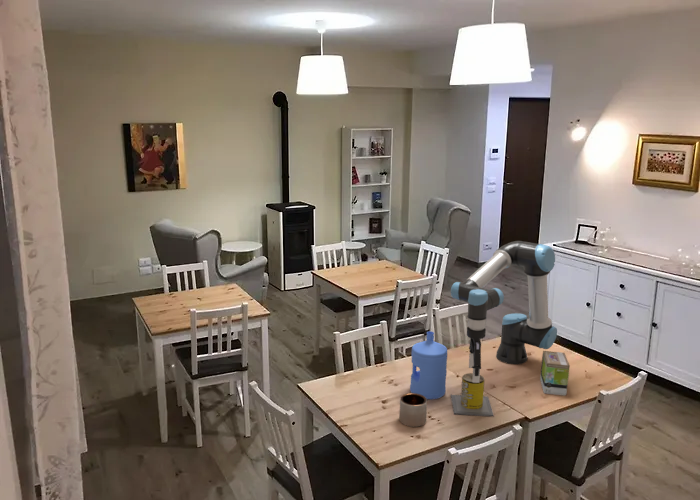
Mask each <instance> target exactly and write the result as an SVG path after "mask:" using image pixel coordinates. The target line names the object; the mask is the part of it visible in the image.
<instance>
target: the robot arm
mask: <svg viewBox="0 0 700 500" xmlns="http://www.w3.org/2000/svg"><path fill="white" fill-rule="evenodd" d="M555 262H556V254H555V251H554V249H553V248H552V247H551V246H550V245H546V244H543V243H535V242H528V241H524V240H523V241H522V240H515V241H511V242H508V243H505V244H504V245H502V246H501V247H498V248H497V249H496V250H494V252H493V253H492V257H490V258H489V259H488V260H486V262H485V263H484V264H482V265H481V266H480V267H479V268H478V269H476V271H475V272H473V273H472V274H471V275H470V276H469V277H468V278H467V279H465V280H464V281H462V282H461V281H460V282H459V281H456V282H454V283H453V284H452V285H451V288H450V296H451V298H453V299H455V300H458V301H462V302H465V303H467V304H468V305H467V318H466V319H465V321H466V322H467V324H466V325H467V327H466V337H468V338H470V340H469V346H468V349H469V359H468V368H469V369H472V373H473V380H472V382H473V383H479V380H480V375H481V369H482V355H481V353H482V351H481V349H482V342H481V339H485V337H486V328H487V315H488V314H487V312H488V311H489V310H492V309H494V308H497V307H499V306H500V305H501V304H503V302H504V301H505V300H504V299H505V295H504V293H503V291H502V290H501V289H500V288H497V287H495V288H494V287H493V288H490V289H488V288H485V287H486V286H487V285H488V284H489V283H490V282H491V281H492V280H494V279H495V278H496V277H497V276H498V275H499V274H500V273H501V272H502V271H503V270H505V269H509V268H510V267H512V266H518V267H523V274H524V275H526V276H527V291H528V311H529V312H528V313H529V316H528V315H526V314H524V313H515V312H514V313H508V314H505V315H504V316H503V317H502V321H501V336H500V337H501V338H500V344H499V346H498V347H497V350H496V355H495V356H496V359H497V360H498V361H500V362H502V363H506V364H510V365H522V364H525V363H526V362H528V353H527V350H526V345H530V346H532V347H535V348H538V349H543V350H548V349H550V348H551V347H552V346H553V345H554V343H555V341H556V338H557V335H558V329H557V327H556V326H555V325H553V321H552V319H551V318H550V317H549V302H548V301H549V300H548V298H549V297H548V275H550V273H551V271H553V269H554V267H555ZM527 316H528V317H527ZM525 344H526V345H525Z"/></svg>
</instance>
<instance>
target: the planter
mask: <svg viewBox="0 0 700 500" xmlns="http://www.w3.org/2000/svg"><path fill="white" fill-rule="evenodd" d="M427 408H428V399H426V397H424V396H423V395H420V394H416V393H411V392H410V393H405V394H402V395H401V396H400V399H399V412H398V415H399V416H398V417H399V418H398V419H399V421H400V423H401V424H402V425H404V426H407V427H410V428H418V427H422V426H423V425H425V424H426V423H427V414H428V412H427V410H428V409H427Z"/></svg>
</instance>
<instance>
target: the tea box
mask: <svg viewBox="0 0 700 500" xmlns="http://www.w3.org/2000/svg"><path fill="white" fill-rule="evenodd" d="M570 366H571V365H570V363H569V360H568V357H567V356H566V354H565V352H560V351H550V350H549V351H548V350H543V351H542V355H541V366H540V367H541V368H540V376H539V380H540V384H541V388H542V391H543V394H548V395H557V396H566V395H567V394H568V393H567V391H568V382H569V377H570V375H569V374H570Z"/></svg>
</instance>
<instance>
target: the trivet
mask: <svg viewBox="0 0 700 500" xmlns="http://www.w3.org/2000/svg"><path fill="white" fill-rule="evenodd" d="M450 399H451V404H452V406H451V407H452V412H453V415H457V416H473V415H474V416H475V417H491V416H493V417H494V415H495V414H494V411H493V408H492V405H491V402H490V398H489V396H486V395H483V406H482V407H481V408H479V409H468V408H465V407H463V406H462V405H461V394H450Z"/></svg>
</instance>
